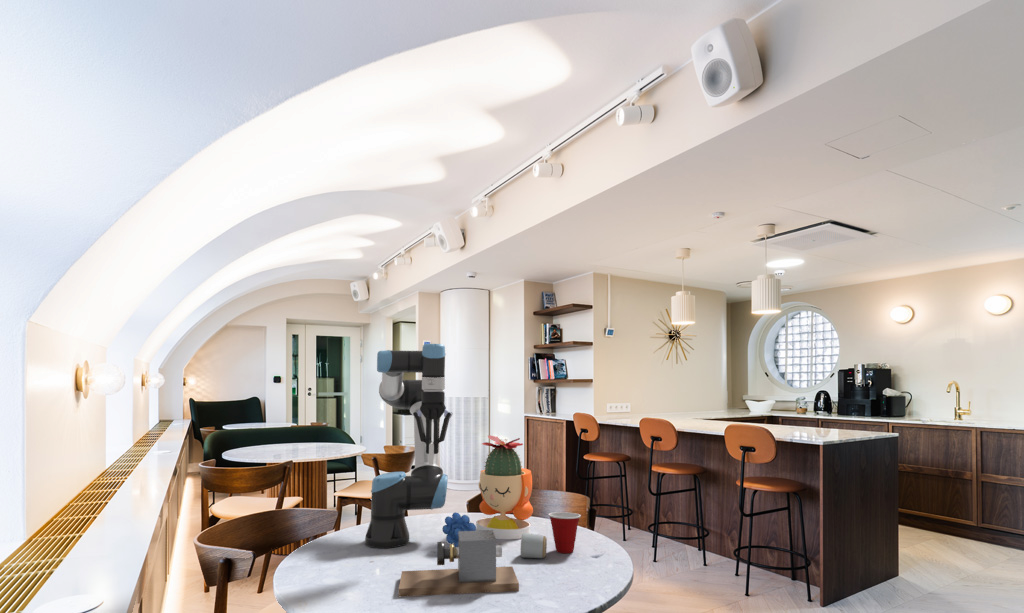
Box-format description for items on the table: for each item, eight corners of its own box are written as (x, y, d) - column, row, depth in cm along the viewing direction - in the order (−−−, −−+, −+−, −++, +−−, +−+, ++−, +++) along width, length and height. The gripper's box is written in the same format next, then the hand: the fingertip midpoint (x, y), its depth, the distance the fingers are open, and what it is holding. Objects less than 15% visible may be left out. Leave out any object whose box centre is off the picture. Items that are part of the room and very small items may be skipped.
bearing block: (459, 583, 158) (459, 541, 159) (458, 571, 168) (458, 531, 169) (496, 581, 159) (496, 539, 160) (492, 569, 169) (492, 530, 170)
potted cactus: (515, 542, 203) (515, 440, 207) (464, 533, 215) (465, 436, 219) (546, 528, 221) (545, 434, 225) (497, 520, 233) (497, 431, 237)
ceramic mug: (545, 561, 182) (545, 536, 183) (520, 560, 184) (520, 535, 185) (547, 552, 192) (547, 529, 193) (524, 551, 194) (524, 528, 195)
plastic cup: (584, 547, 197) (584, 511, 198) (577, 557, 187) (576, 518, 188) (553, 544, 200) (553, 508, 202) (544, 553, 190) (544, 515, 192)
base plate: (398, 596, 154) (398, 588, 154) (401, 578, 167) (401, 571, 168) (518, 590, 158) (518, 583, 158) (512, 573, 171) (512, 566, 172)
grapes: (440, 553, 191) (440, 515, 192) (443, 547, 198) (443, 510, 199) (475, 553, 191) (475, 515, 192) (477, 547, 197) (477, 510, 199)
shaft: (437, 568, 159) (437, 545, 160) (437, 561, 165) (437, 539, 166) (502, 565, 162) (502, 543, 162) (500, 558, 168) (500, 537, 168)
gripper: (410, 391, 189) (409, 465, 187) (449, 391, 187) (448, 466, 185) (417, 390, 197) (416, 461, 194) (455, 390, 195) (454, 462, 192)
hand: (432, 464), depth 189 cm, fingers closed
